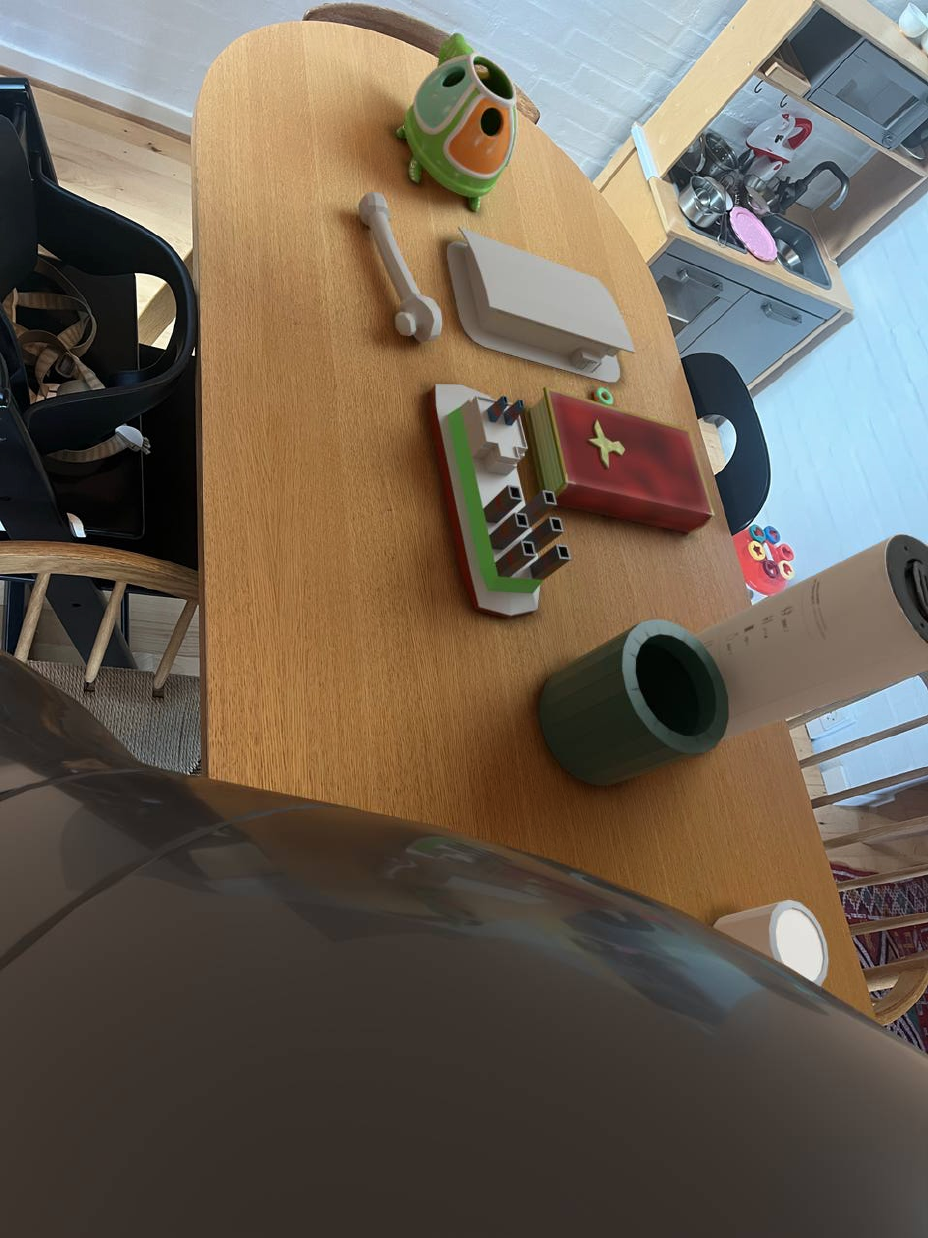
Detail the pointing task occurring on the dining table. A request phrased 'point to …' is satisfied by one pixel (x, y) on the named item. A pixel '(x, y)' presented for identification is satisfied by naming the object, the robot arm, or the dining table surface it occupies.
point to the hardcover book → (617, 463)
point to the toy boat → (492, 501)
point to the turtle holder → (462, 122)
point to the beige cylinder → (826, 636)
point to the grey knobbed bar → (400, 274)
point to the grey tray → (536, 308)
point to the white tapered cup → (782, 936)
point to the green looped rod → (605, 394)
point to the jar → (635, 705)
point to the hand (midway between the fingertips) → (420, 1000)
